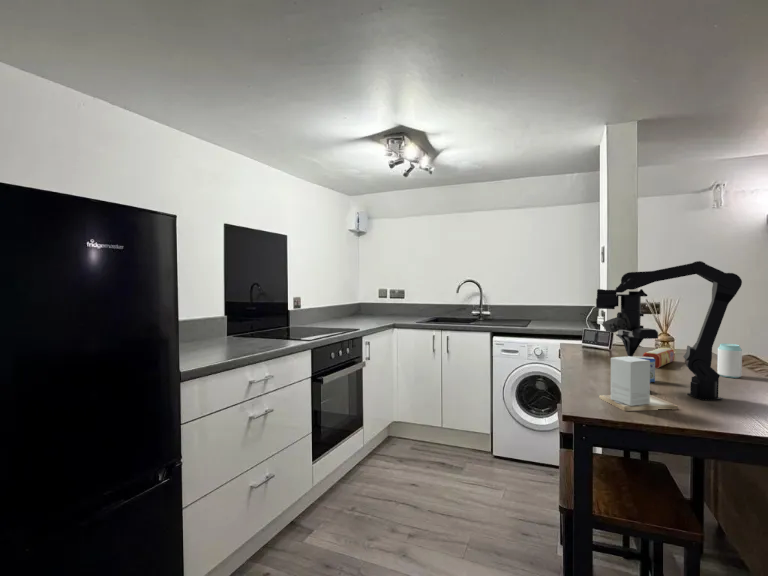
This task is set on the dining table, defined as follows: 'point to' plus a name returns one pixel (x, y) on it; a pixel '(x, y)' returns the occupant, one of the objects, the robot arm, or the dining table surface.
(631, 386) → the supplement box
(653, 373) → the medicine box
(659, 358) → the snack package
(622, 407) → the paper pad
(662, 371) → the dining table surface
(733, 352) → the can
